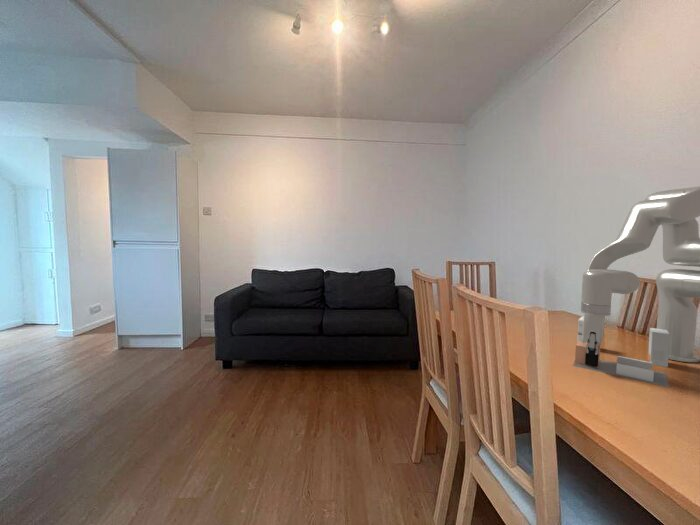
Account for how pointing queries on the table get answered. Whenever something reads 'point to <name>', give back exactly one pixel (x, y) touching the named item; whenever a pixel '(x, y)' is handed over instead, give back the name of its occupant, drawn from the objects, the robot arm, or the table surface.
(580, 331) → the ink box
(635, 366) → the channel base
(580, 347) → the block
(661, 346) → the skincare box
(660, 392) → the table surface
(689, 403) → the table surface
